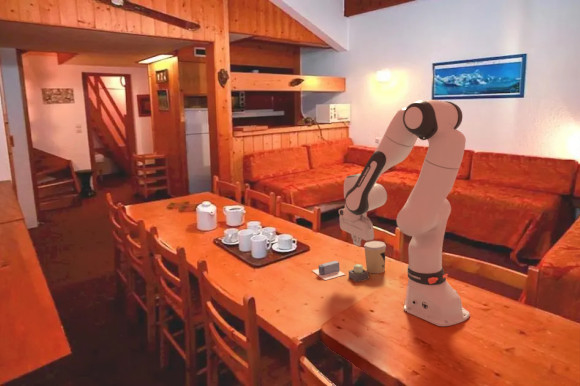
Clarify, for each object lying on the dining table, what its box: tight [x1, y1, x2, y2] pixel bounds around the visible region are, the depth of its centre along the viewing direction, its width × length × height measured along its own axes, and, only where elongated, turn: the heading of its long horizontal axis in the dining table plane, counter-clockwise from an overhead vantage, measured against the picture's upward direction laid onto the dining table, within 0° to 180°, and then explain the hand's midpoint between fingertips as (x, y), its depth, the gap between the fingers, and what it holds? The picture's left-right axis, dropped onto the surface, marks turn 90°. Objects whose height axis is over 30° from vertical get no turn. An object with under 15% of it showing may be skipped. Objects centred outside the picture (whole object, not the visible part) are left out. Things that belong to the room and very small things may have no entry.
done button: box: [353, 263, 364, 274], centre depth 170 cm, size 4×4×4 cm
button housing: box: [348, 268, 370, 283], centre depth 170 cm, size 6×6×3 cm
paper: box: [311, 268, 346, 281], centre depth 178 cm, size 12×10×1 cm
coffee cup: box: [363, 240, 387, 274], centre depth 176 cm, size 9×9×12 cm
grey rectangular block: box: [318, 260, 341, 275], centre depth 178 cm, size 9×3×4 cm, turn 114°
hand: (357, 245), depth 167 cm, fingers closed
